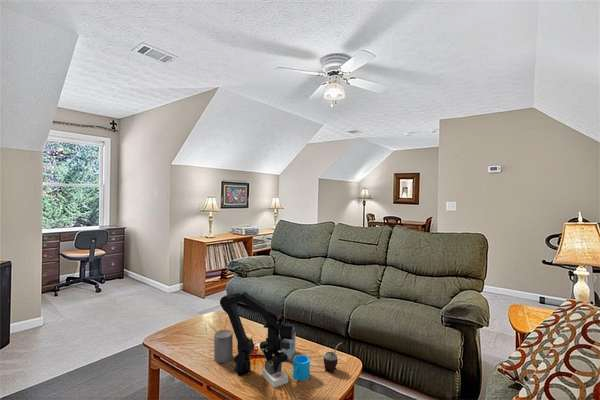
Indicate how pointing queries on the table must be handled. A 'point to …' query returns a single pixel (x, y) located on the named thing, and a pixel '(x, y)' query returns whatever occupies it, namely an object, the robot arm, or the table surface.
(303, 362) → the mug
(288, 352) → the light bulb box
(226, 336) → the pillar candle
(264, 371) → the socket
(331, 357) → the mate gourd
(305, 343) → the table surface
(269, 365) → the plug
